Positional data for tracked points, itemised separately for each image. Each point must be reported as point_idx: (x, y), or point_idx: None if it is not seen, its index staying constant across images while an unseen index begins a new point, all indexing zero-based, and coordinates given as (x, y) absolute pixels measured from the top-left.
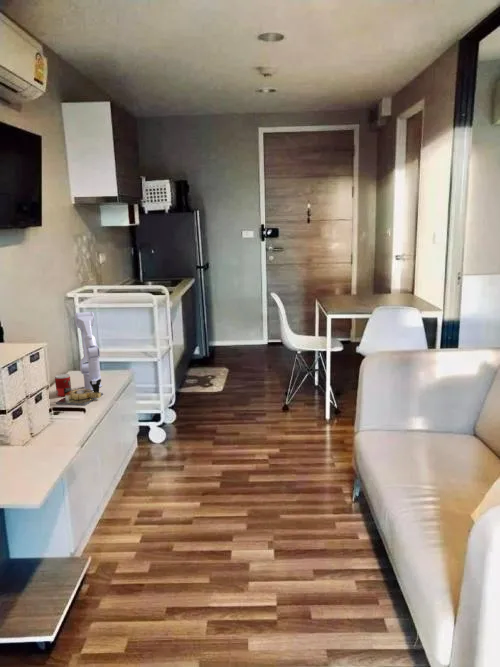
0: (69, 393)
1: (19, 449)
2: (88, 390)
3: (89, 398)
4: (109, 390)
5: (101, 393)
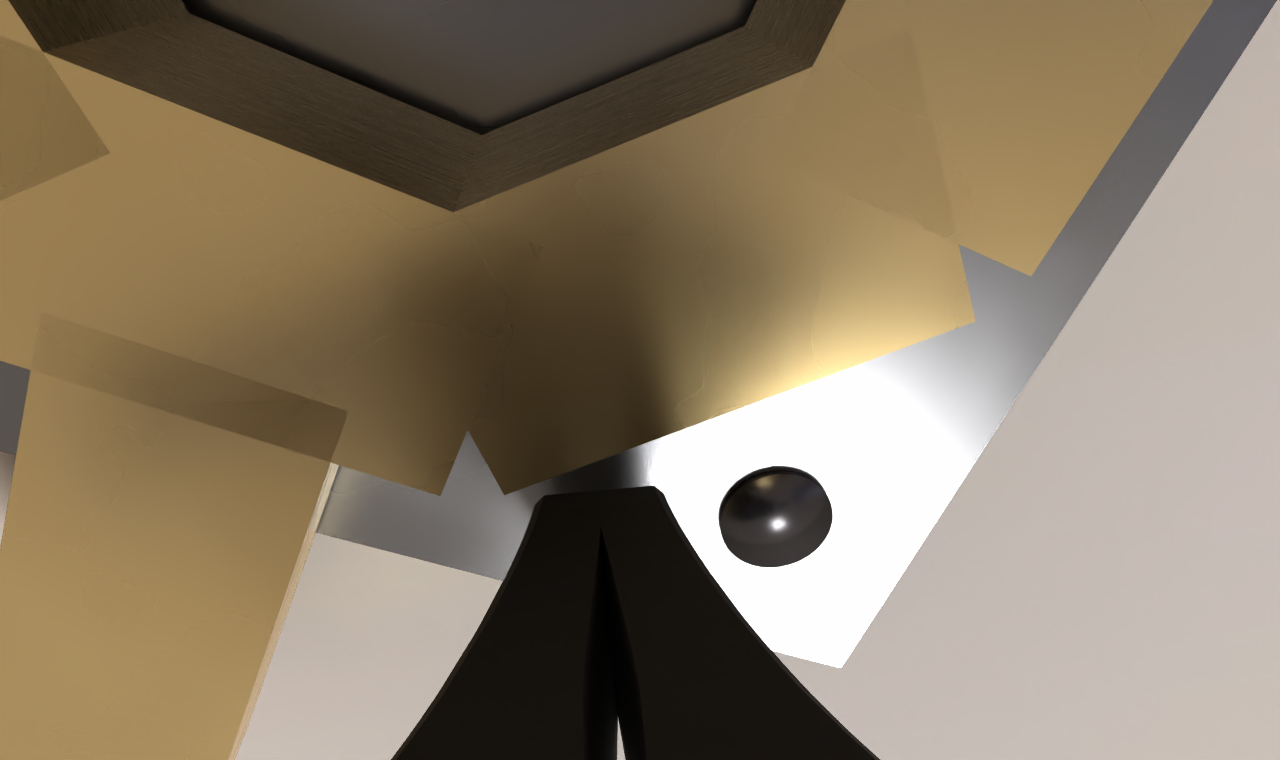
0: None
1: None
2: (686, 264)
3: None
4: (1254, 706)
5: (793, 634)
